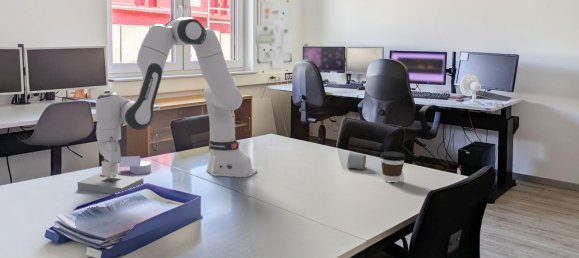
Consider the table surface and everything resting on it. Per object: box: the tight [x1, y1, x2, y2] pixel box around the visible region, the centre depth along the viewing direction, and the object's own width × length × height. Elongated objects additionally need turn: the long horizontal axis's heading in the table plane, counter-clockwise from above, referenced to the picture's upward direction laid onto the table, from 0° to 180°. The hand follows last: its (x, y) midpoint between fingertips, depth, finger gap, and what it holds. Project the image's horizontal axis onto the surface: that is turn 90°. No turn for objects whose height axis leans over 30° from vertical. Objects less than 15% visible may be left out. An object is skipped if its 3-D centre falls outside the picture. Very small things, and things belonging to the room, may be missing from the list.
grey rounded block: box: [346, 151, 367, 170], centre depth 234 cm, size 11×8×8 cm
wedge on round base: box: [118, 155, 152, 175], centre depth 219 cm, size 9×7×13 cm
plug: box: [101, 159, 119, 179], centre depth 194 cm, size 4×4×8 cm
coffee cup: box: [379, 151, 407, 182], centre depth 213 cm, size 11×11×12 cm
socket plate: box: [77, 172, 144, 195], centre depth 195 cm, size 20×14×4 cm
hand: (110, 169), depth 194 cm, fingers closed on plug, 6 cm apart
